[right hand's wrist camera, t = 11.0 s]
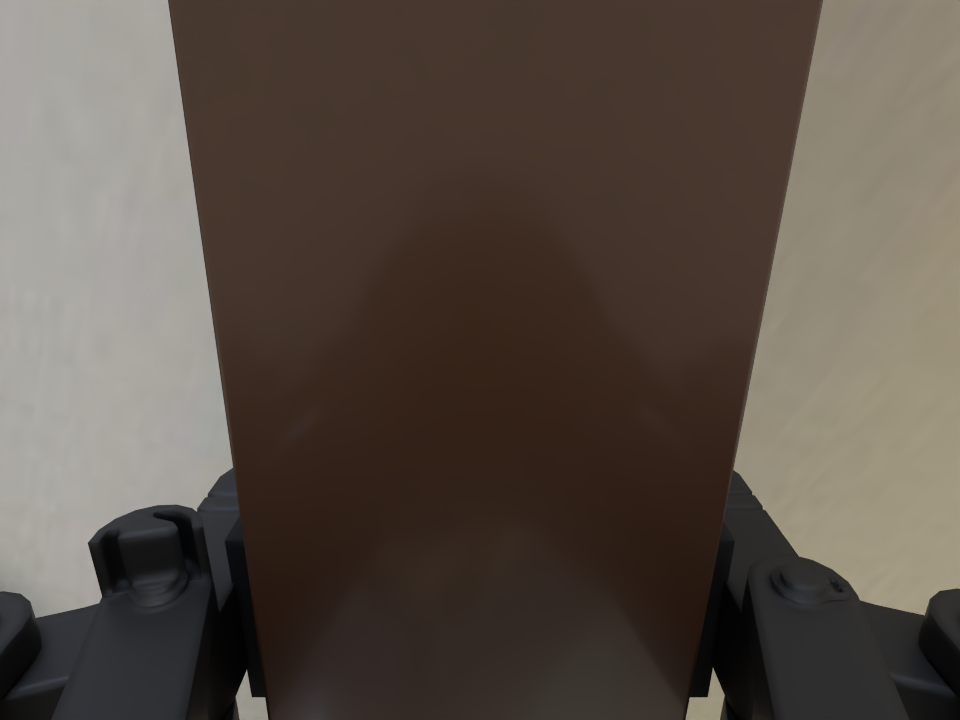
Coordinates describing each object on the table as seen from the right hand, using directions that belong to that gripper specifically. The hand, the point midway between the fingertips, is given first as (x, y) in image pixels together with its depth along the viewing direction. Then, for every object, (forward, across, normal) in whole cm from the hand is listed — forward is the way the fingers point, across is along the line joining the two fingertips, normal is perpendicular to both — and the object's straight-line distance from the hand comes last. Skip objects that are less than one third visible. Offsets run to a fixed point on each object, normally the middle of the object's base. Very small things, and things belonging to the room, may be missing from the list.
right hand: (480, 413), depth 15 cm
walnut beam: (0, 0, -11) cm, 11 cm away
